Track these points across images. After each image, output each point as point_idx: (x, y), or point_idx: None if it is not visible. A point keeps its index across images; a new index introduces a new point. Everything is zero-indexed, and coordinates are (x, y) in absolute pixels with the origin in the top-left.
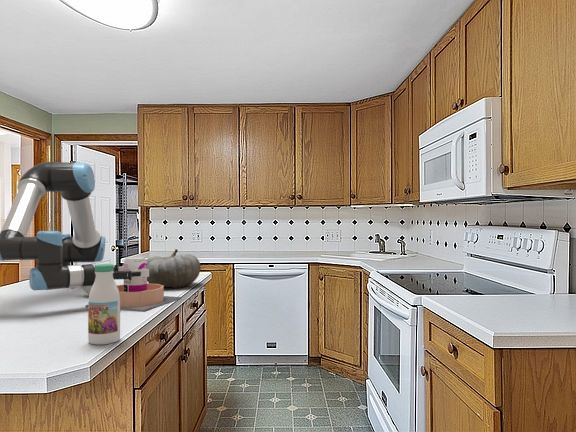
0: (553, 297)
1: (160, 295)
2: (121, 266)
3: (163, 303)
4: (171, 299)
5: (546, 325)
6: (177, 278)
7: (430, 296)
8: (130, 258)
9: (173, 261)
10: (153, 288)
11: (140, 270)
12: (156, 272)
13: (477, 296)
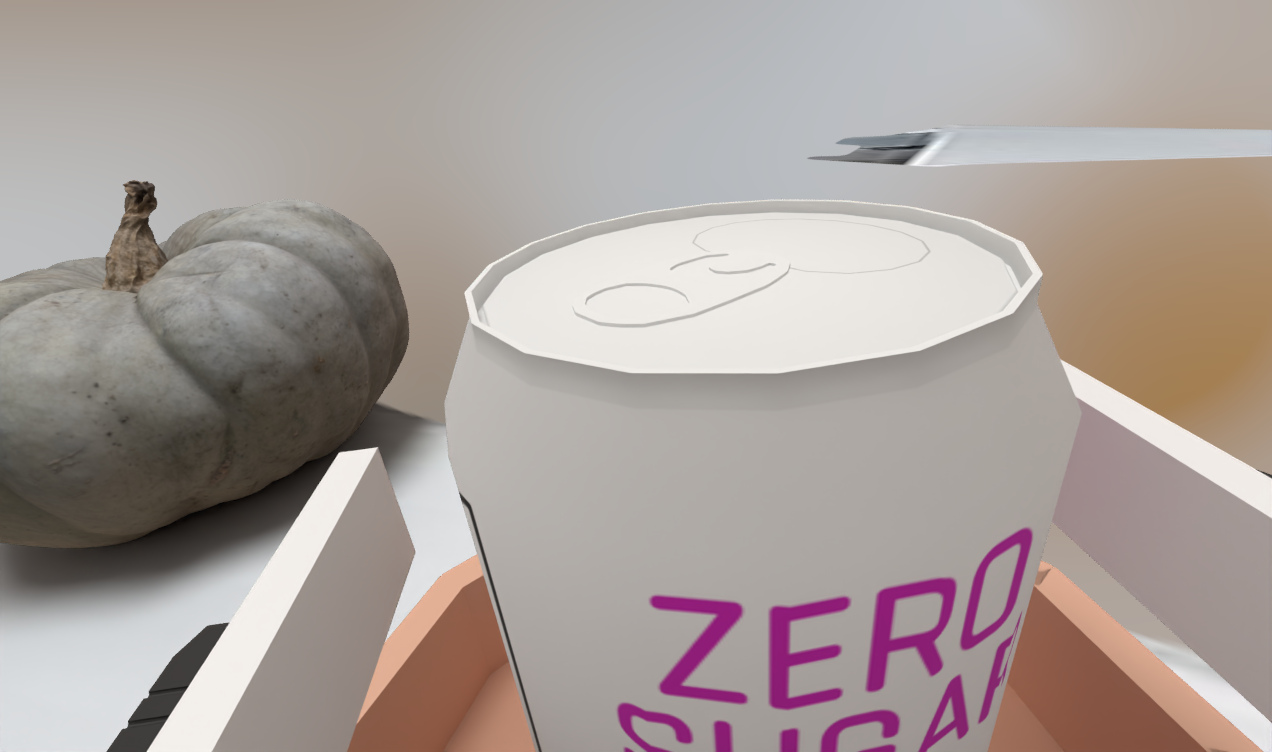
0: (975, 128)
1: None
2: (192, 706)
3: None
4: None
5: (1266, 135)
6: (371, 382)
7: (931, 163)
8: (704, 312)
9: (302, 265)
10: None
11: (1190, 448)
12: (196, 418)
13: (947, 147)
